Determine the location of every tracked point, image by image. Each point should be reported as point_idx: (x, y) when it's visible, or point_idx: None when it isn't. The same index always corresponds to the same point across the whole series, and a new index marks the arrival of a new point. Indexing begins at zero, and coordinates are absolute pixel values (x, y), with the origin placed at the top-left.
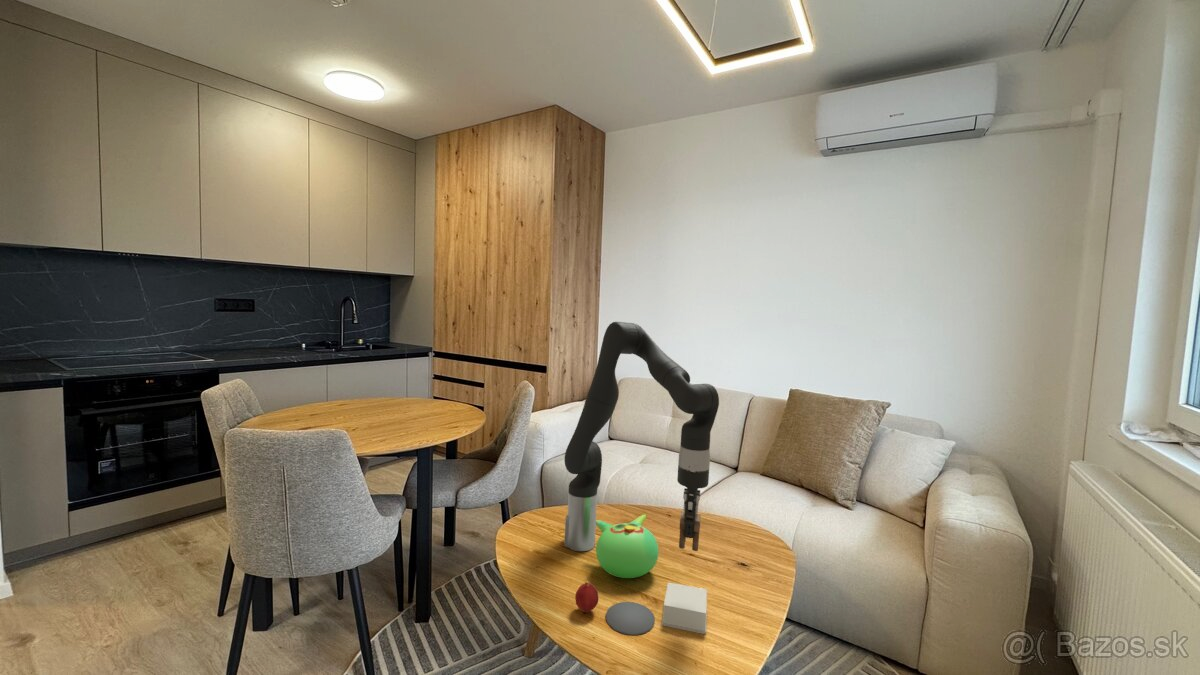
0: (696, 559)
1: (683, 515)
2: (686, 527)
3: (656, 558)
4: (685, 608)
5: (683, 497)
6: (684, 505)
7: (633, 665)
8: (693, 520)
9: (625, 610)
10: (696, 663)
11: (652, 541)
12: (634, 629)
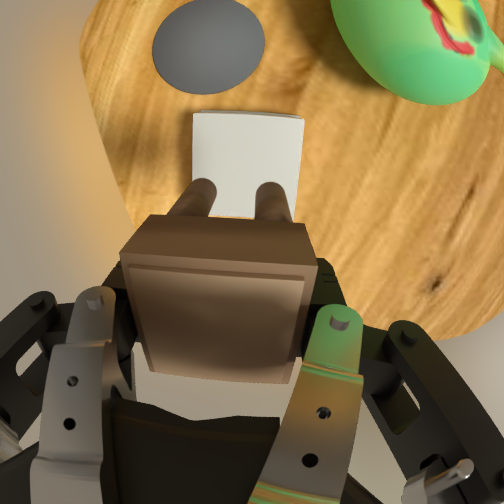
0: (456, 201)
1: (205, 287)
2: (106, 278)
3: (396, 93)
4: (195, 167)
5: (32, 475)
6: (47, 395)
7: (86, 86)
8: (38, 361)
9: (227, 29)
10: (121, 184)
11: (428, 79)
12: (166, 60)
